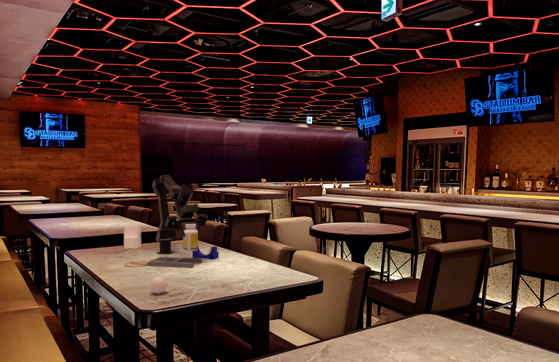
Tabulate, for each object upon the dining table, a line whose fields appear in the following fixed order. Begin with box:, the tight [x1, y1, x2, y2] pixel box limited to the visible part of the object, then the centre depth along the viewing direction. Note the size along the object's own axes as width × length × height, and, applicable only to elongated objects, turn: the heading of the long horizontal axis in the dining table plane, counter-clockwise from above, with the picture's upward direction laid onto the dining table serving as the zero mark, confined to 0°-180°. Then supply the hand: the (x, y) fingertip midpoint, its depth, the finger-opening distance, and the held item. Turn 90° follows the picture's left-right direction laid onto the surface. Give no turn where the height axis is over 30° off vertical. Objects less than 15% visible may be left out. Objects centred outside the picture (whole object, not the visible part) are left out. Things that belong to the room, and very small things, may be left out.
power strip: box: [147, 256, 203, 269], centre depth 181 cm, size 12×21×2 cm, turn 80°
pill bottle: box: [182, 223, 199, 252], centre depth 179 cm, size 6×6×12 cm
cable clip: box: [191, 245, 220, 260], centre depth 195 cm, size 12×4×6 cm, turn 70°
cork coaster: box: [124, 260, 149, 268], centre depth 180 cm, size 11×11×1 cm
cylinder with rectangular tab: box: [123, 224, 142, 249], centre depth 224 cm, size 9×9×12 cm
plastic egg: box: [149, 276, 168, 295], centre depth 136 cm, size 8×6×6 cm
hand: (191, 235), depth 178 cm, fingers closed on pill bottle, 6 cm apart
